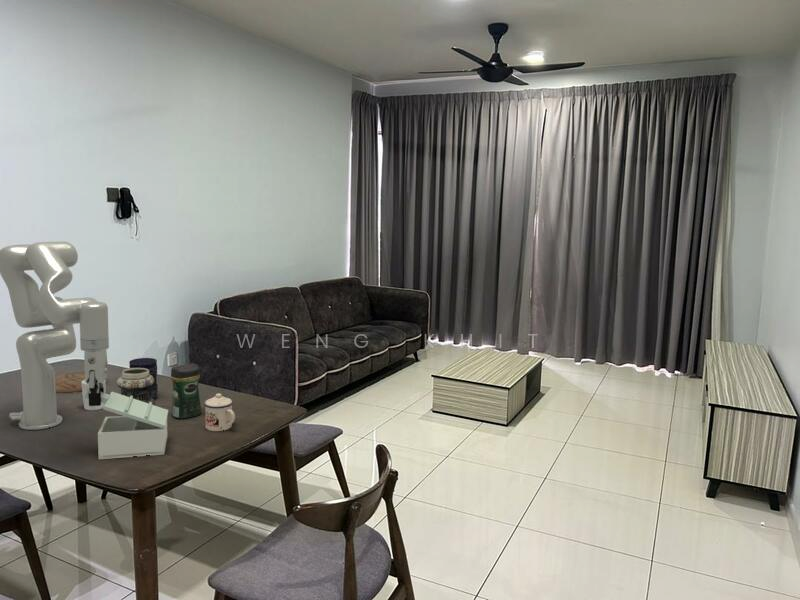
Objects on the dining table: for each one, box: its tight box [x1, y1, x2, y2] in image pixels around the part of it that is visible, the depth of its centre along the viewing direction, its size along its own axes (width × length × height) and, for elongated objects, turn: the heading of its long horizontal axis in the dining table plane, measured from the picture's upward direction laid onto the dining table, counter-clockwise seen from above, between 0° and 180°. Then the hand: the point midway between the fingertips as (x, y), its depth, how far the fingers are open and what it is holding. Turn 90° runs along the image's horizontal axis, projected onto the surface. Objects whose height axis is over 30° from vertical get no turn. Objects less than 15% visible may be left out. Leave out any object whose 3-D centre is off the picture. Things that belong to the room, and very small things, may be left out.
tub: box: [97, 415, 168, 460], centre depth 187 cm, size 18×14×8 cm
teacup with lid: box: [204, 393, 236, 432], centre depth 205 cm, size 12×9×12 cm
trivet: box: [55, 371, 108, 394], centre depth 246 cm, size 25×25×2 cm
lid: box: [85, 390, 169, 429], centre depth 185 cm, size 24×14×2 cm, turn 108°
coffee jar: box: [170, 362, 202, 420], centre depth 216 cm, size 10×8×19 cm
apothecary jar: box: [116, 368, 156, 406], centre depth 208 cm, size 12×12×18 cm
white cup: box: [81, 380, 107, 411], centre depth 220 cm, size 8×8×10 cm
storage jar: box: [128, 357, 159, 402], centre depth 231 cm, size 10×10×15 cm
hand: (96, 402), depth 182 cm, fingers closed on lid, 4 cm apart
